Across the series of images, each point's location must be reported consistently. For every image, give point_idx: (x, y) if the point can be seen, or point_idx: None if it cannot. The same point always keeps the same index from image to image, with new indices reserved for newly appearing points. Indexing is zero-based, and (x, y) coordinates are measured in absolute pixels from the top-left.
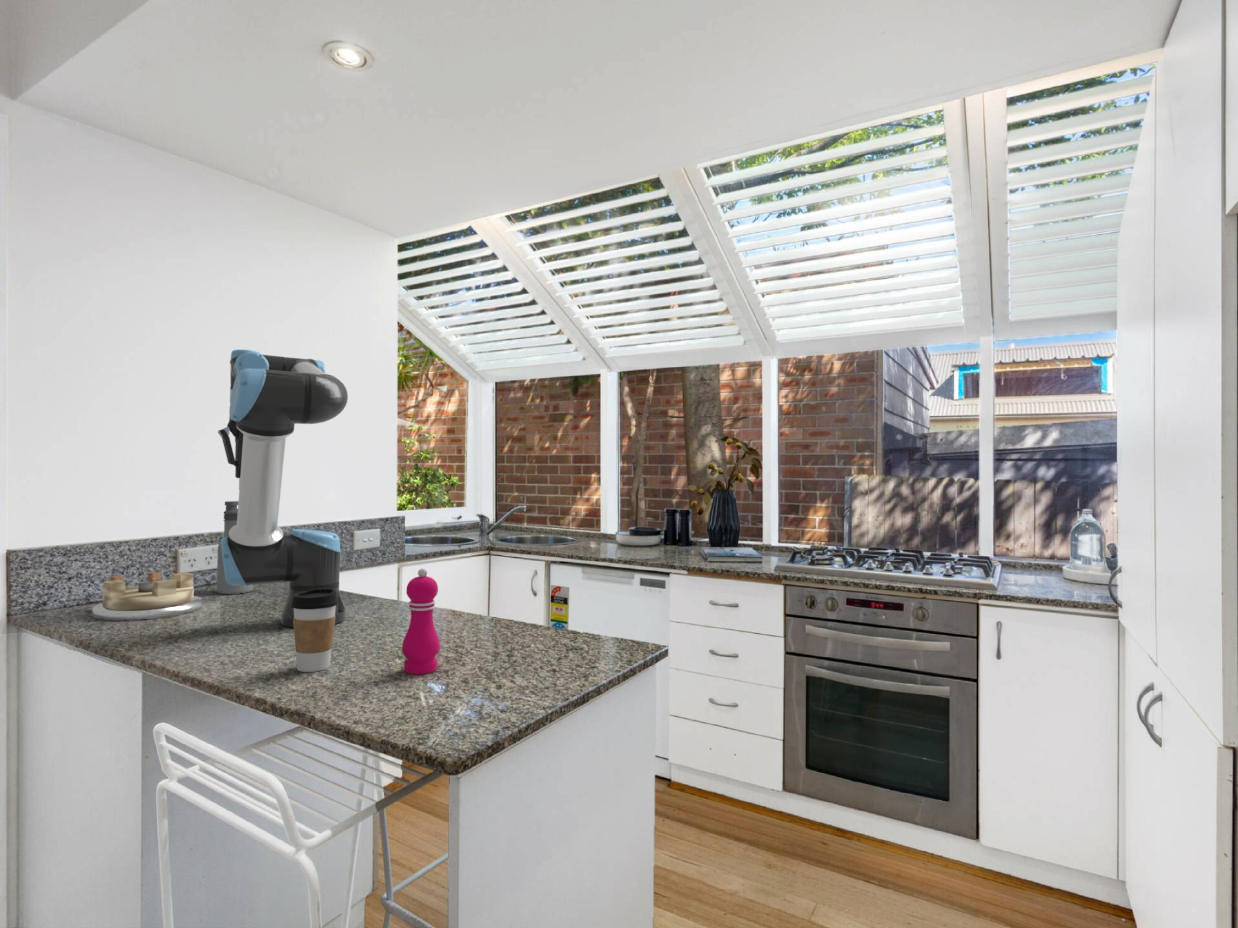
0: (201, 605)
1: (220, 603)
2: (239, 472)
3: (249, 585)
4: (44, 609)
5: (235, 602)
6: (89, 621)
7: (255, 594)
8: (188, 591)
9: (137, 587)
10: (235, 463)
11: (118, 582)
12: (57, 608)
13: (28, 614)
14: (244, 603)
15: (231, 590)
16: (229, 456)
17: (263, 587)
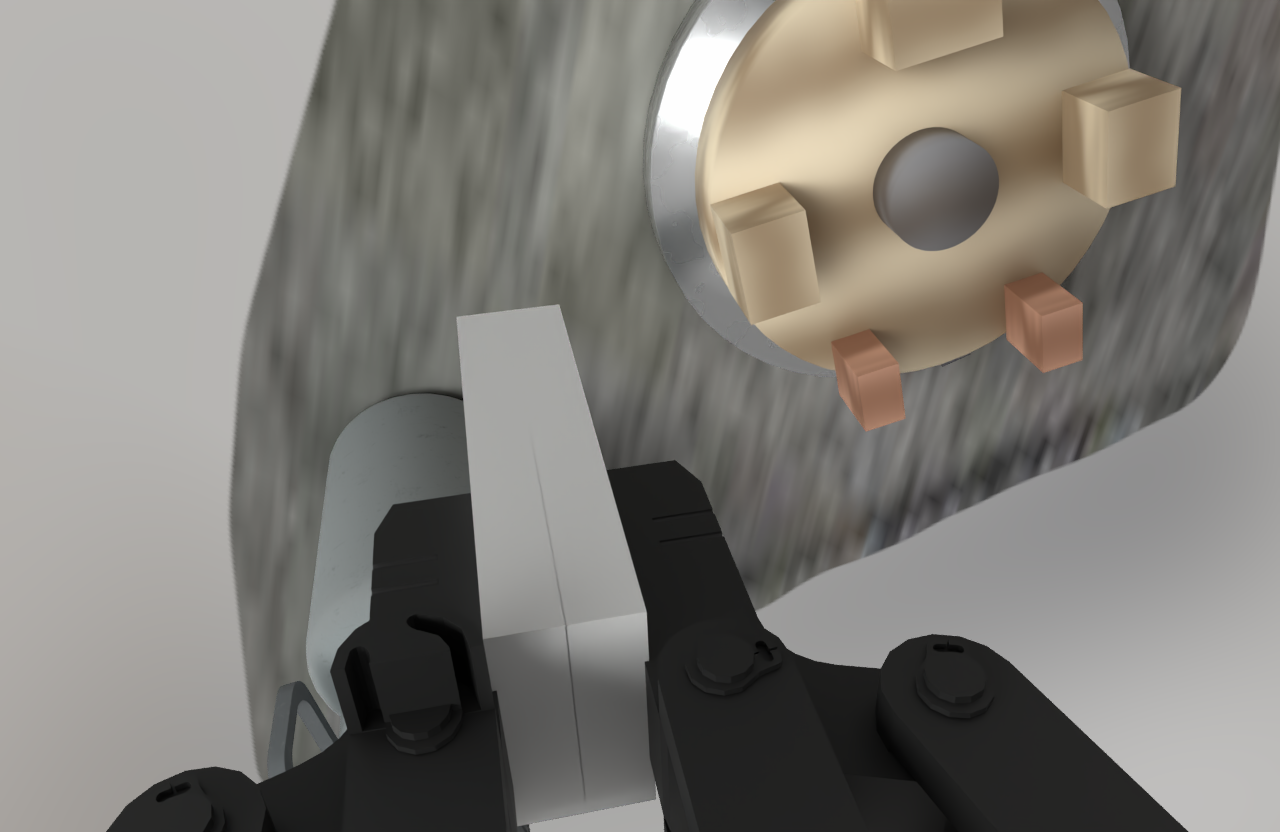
0: (656, 89)
1: (543, 157)
2: (666, 549)
3: (352, 433)
4: (1153, 409)
5: (464, 142)
6: (1148, 12)
7: (327, 342)
8: (767, 45)
9: (935, 327)
10: (844, 702)
11: (1139, 107)
12: (1117, 408)
13: (1227, 331)
14: (420, 76)
15: (453, 402)
16: (1163, 817)
17: (265, 530)
